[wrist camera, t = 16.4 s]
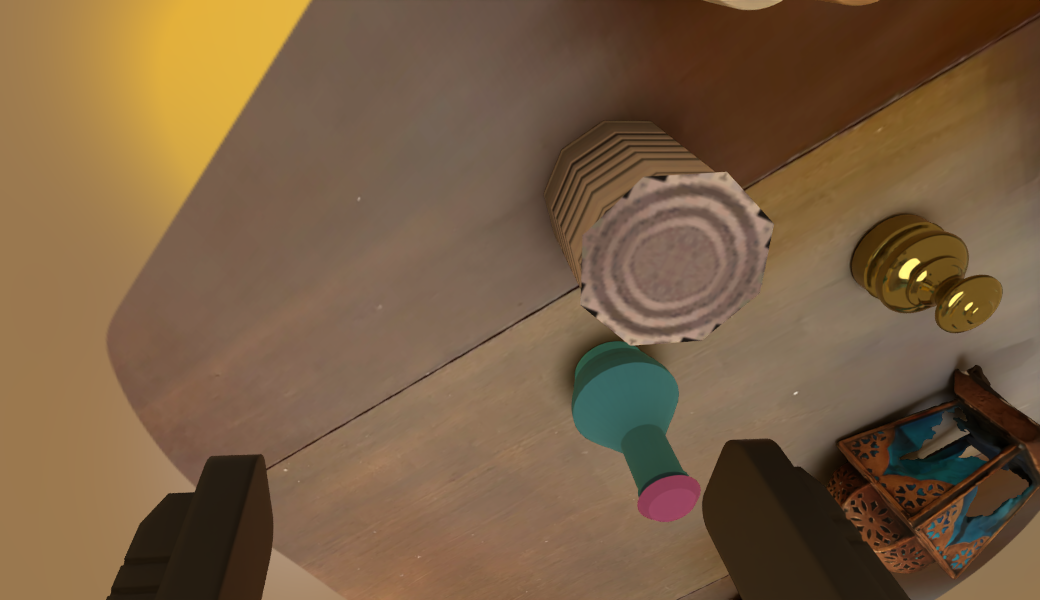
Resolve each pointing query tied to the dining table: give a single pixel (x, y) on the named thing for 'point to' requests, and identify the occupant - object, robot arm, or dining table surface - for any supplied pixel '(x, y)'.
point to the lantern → (936, 479)
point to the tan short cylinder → (852, 2)
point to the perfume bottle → (634, 423)
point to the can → (655, 234)
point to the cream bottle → (746, 3)
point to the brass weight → (924, 273)
